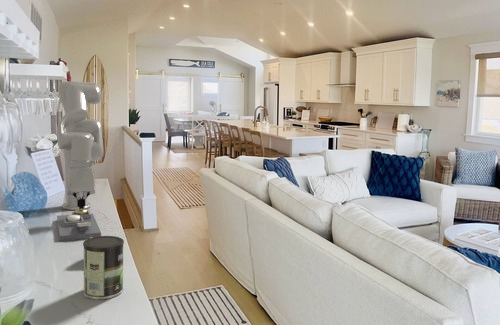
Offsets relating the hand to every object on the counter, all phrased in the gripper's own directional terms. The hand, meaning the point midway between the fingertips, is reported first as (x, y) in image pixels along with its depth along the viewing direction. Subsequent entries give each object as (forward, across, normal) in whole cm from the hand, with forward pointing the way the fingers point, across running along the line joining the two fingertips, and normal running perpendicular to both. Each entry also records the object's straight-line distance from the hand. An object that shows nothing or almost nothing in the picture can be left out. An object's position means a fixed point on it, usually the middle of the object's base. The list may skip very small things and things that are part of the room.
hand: (81, 208), depth 175 cm
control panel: (+6, +2, +8) cm, 11 cm away
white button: (+3, +4, +9) cm, 10 cm away
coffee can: (+7, 0, +68) cm, 69 cm away
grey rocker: (+3, 0, +18) cm, 18 cm away
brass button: (+3, 0, 0) cm, 3 cm away
